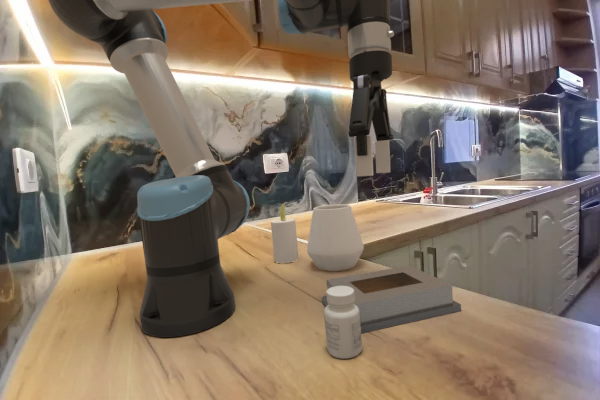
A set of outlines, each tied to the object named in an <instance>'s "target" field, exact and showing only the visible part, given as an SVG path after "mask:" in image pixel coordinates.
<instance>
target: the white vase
mask: <svg viewBox="0 0 600 400" xmlns="http://www.w3.org/2000/svg"><path fill="white" fill-rule="evenodd" d="M312 209H313V210H312V215H311V222H310V226H309V227H310V228H309V233H308V241H307V244H306V245H307V246H306V248H307V249H306V251H307V254H308V256H309V258H310V259H311V260H312V262H313V263H314V265H315V266H316V268H318V269H320V270H322V269H323V270H322V271H327V270H328V271H330V272H333V271H334V272H338V271H344V270H345V271H346V270H349V269H352V268H355V266H356V265H357V263H358V261H359V259H360V257H361V255H362V253H363V251H364V248H365V246H364V242H363V239H362V236H361V233H360V230H359V227H358V225H357V222H356V218H355V214H354V212H353V209H352V206H351V205H350V204H342V203H339V204H338V203H337V204H325V205H318V206H316V207H315V206H314V207H313V208H312ZM328 271H327V272H328Z"/></svg>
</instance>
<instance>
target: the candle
mask: <svg viewBox="0 0 600 400" xmlns="http://www.w3.org/2000/svg"><path fill="white" fill-rule="evenodd" d="M279 213H280V214H279V215H280V216H279V217H280V218H278V219H274V220H273V219H272V220H271V221H270V226H271V238H272V246H273V247H272V248H273V259H274V263H275V262H278V263H289V262H293V261H296V260H297V259H298V258H299V249H298V248H299V247H298V238H297V237H298V236H297V225H296V219H295V218H286V211H285V204H284V203H282V204H281V207H280V212H279ZM296 262H297V261H296ZM278 263H277V264H278ZM289 264H290V263H289Z"/></svg>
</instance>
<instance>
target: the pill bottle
mask: <svg viewBox="0 0 600 400" xmlns="http://www.w3.org/2000/svg"><path fill="white" fill-rule="evenodd" d="M325 293H326V296H327V303H328V304H329V305H327V306H326V307H325V308H324V310H323V311H324V312H323V313H324V314H323V316H324V327H325V328H324V329H325V339H326V340H325V342H326V349H327V352H328V353H329V354H330V355H331V356H332V357H334V358H336V359H343V360H344V359H351V358H355V357H357V356H358V355H359V354H361V353H362V349H363V345H362V344H363V340H362V333H361V327H360V313H359V308H358V307H357V306H356V305H355V304H354V302H355V294H354V289H353V288H351V287H348V286H334V287H331V288H329V289H328V290H327V289H326V292H325Z"/></svg>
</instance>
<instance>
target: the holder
mask: <svg viewBox="0 0 600 400" xmlns="http://www.w3.org/2000/svg"><path fill="white" fill-rule="evenodd" d="M334 286H348V287H351V288H353V289H354V294H355V302H354V304H355V305H356V306H357V307H358V308H359V313H360V327H361V334H364V333H369V332H373V331H378V330H381V329H387V328H391V327H396V326H399V325H405V324H408V323H412V322H417V321H422V320H426V319H432V318H435V317H439V316H444V315H448V314H453V313H456V312H457V313H458V312H462V304H461V303H458V302H457V301H455V300H453V297H454V296H453V284H451V283H449V282H446V281H444V280H442V279H440V278H438V277H435V276H434V275H431V274H428V273H427V272H425V271H423V270H420V269H418V268H416V267H413V266H412V265H409V264H408V265H403V266H398V267H392V268H386V269H380V270H375V271H369V272H368V271H367V272H363V273H358V274H353V275H348V276H347V275H345V276H340V277H335V278H329V279H326V288H327V289H326V291H327V290H328V289H329V288H331V287H334ZM321 303H322V305H323V306H324V307H325V308H326V306H327V305H329V304H328V303H327V295H324V296H323V295H322V296H321Z"/></svg>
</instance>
